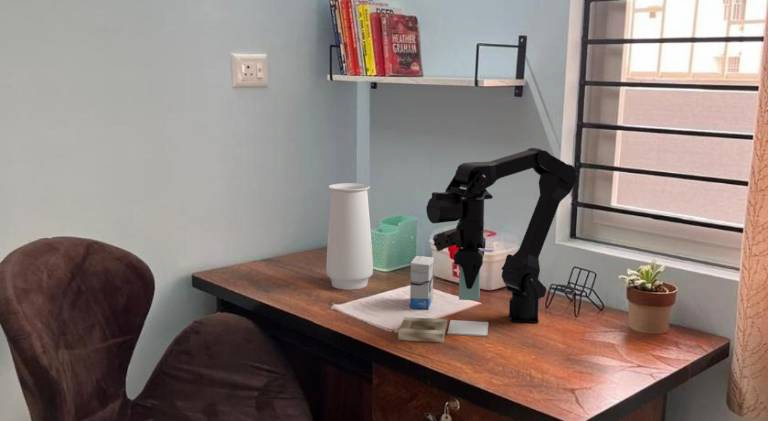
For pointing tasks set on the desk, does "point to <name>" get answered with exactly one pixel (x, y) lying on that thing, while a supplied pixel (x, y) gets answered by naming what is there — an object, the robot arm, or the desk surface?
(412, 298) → the ink box
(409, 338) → the birch holder
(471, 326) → the grey coaster
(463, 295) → the teal block
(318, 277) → the desk surface
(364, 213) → the vase
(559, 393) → the desk surface
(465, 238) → the robot arm
